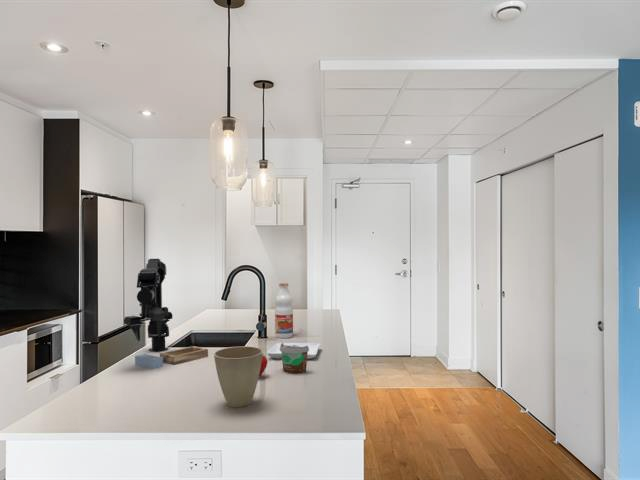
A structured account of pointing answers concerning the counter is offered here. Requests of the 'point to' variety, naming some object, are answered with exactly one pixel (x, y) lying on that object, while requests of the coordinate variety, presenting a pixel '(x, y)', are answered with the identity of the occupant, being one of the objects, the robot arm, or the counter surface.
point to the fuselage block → (149, 361)
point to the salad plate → (277, 353)
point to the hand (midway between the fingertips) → (149, 339)
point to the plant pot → (238, 373)
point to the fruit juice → (283, 313)
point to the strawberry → (263, 364)
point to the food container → (294, 358)
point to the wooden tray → (184, 355)
